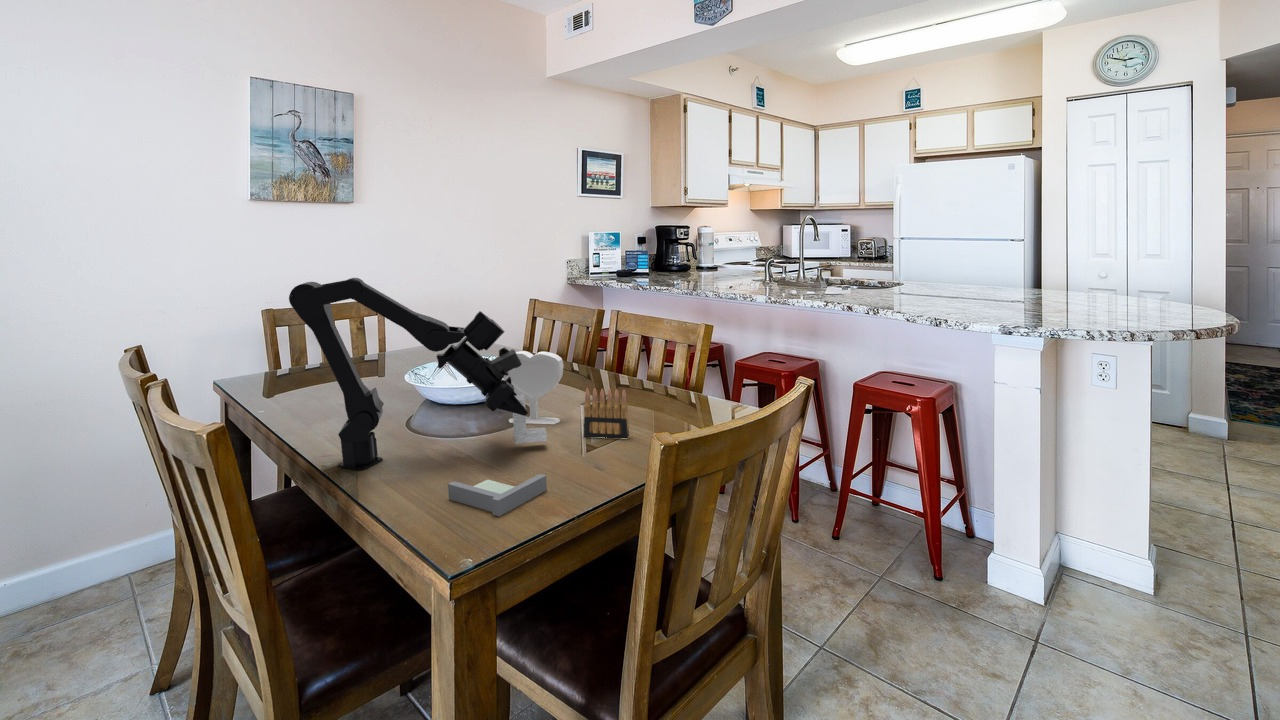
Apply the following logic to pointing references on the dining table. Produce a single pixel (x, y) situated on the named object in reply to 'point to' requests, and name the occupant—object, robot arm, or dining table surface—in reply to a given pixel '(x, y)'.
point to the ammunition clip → (606, 416)
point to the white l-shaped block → (520, 428)
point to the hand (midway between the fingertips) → (525, 411)
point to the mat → (494, 486)
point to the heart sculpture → (536, 380)
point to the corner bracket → (497, 495)
